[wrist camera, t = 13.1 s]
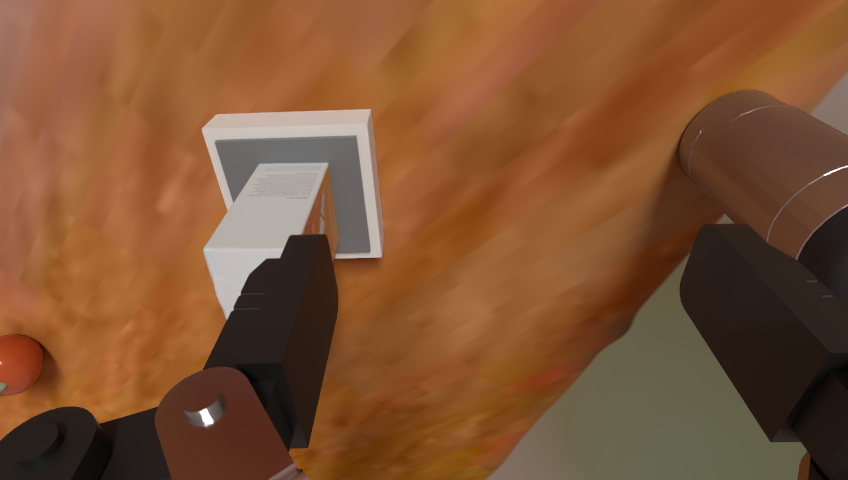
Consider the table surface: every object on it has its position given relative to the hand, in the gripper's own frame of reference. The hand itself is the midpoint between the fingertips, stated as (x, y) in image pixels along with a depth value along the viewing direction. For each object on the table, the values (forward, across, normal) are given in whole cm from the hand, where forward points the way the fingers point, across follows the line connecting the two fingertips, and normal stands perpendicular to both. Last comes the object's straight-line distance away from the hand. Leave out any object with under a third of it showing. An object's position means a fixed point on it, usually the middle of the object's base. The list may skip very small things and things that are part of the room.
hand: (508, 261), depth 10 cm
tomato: (+33, +54, +37) cm, 73 cm away
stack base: (+33, +14, +15) cm, 39 cm away
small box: (+29, +14, +15) cm, 36 cm away
